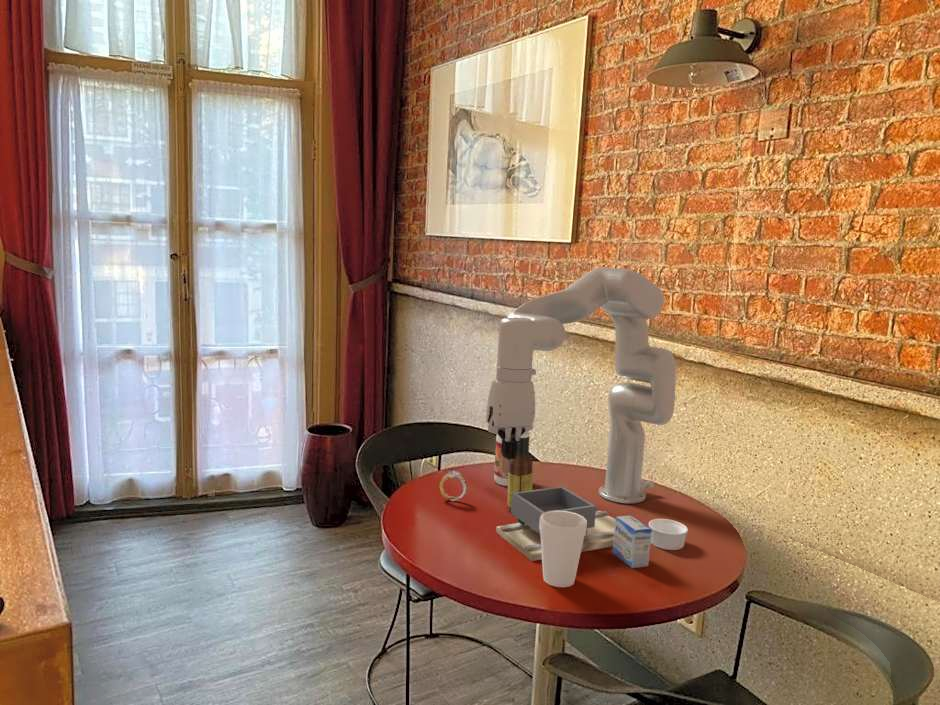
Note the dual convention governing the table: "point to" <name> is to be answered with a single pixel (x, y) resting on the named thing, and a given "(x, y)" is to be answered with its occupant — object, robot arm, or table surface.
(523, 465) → the sauce bottle
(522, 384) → the robot arm
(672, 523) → the ramekin
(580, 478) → the table surface
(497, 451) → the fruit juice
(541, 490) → the grey storage bin
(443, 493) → the bracelet
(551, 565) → the foam cup
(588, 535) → the track board
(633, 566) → the medicine box
